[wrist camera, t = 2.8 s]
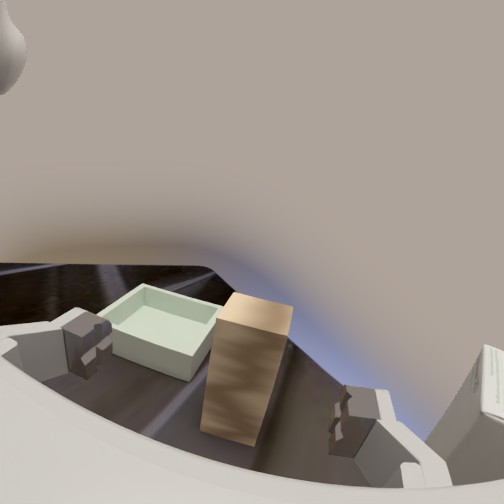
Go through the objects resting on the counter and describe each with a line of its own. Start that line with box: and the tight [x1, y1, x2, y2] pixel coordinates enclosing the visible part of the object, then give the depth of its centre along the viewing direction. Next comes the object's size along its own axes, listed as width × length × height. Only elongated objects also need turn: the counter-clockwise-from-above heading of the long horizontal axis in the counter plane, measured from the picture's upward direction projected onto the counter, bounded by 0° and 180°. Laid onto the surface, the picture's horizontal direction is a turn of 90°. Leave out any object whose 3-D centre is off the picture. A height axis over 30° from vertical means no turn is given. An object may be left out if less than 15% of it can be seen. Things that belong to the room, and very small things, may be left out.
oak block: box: [200, 292, 293, 447], centre depth 25 cm, size 5×5×12 cm
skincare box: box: [424, 344, 504, 486], centre depth 13 cm, size 8×7×16 cm
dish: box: [97, 284, 223, 382], centre depth 38 cm, size 13×13×4 cm
